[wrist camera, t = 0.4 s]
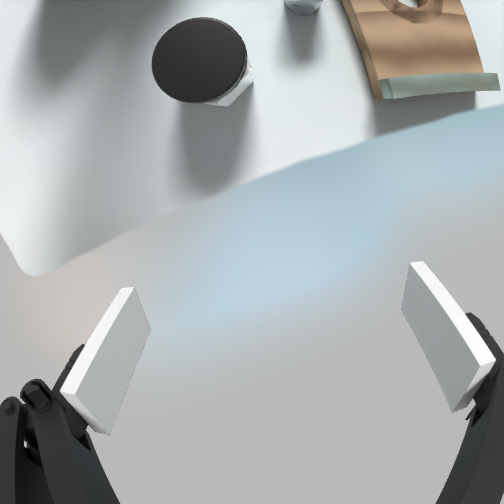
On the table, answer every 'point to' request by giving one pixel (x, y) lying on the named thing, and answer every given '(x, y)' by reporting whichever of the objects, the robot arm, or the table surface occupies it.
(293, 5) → the grey metal cylinder
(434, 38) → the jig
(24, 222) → the table surface
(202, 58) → the jar
